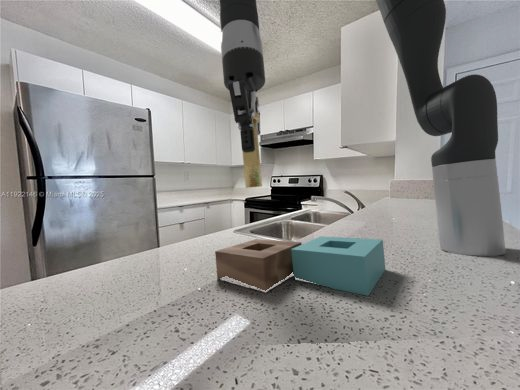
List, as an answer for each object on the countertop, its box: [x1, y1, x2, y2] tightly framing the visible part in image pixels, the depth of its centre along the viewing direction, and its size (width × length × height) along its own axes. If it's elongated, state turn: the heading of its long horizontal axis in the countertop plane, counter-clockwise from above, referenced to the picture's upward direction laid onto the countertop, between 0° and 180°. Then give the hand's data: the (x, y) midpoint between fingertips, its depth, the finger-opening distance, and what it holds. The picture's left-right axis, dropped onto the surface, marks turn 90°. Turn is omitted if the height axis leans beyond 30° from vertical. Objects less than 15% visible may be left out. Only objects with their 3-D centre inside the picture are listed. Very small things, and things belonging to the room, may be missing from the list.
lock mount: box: [214, 238, 302, 291], centre depth 38 cm, size 11×11×5 cm
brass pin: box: [240, 112, 263, 189], centre depth 39 cm, size 4×4×13 cm
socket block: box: [291, 235, 387, 297], centre depth 35 cm, size 11×11×5 cm
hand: (251, 153), depth 39 cm, fingers closed on brass pin, 3 cm apart
